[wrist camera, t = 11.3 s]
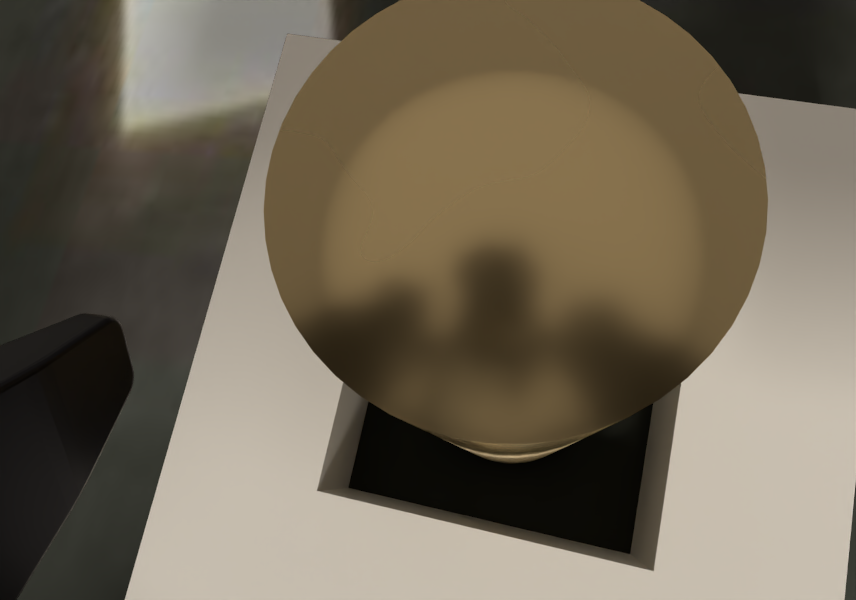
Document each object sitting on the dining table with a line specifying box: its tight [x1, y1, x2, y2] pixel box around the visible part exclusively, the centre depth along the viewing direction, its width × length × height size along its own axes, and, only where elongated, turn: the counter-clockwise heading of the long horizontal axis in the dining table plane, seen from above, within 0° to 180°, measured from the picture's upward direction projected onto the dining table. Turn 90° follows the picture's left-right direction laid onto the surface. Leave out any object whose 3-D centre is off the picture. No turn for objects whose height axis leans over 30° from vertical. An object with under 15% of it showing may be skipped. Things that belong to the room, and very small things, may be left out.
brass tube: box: [264, 0, 768, 464], centre depth 12 cm, size 4×4×13 cm
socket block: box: [125, 34, 856, 600], centre depth 17 cm, size 14×14×3 cm
